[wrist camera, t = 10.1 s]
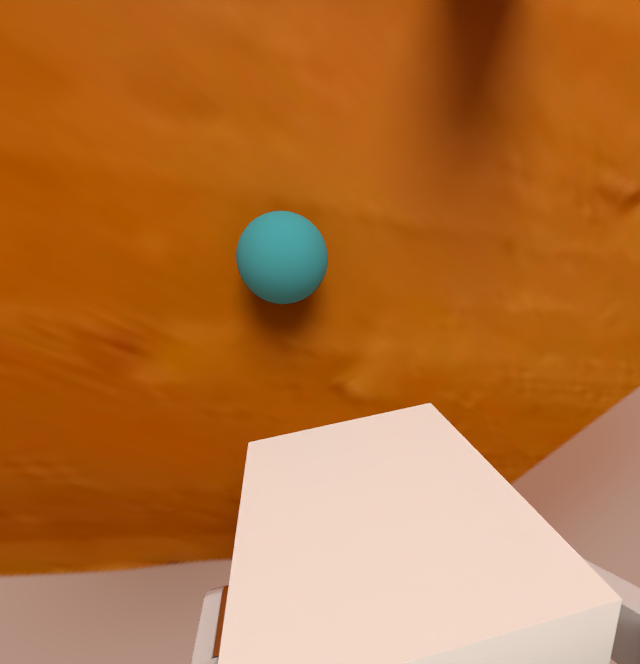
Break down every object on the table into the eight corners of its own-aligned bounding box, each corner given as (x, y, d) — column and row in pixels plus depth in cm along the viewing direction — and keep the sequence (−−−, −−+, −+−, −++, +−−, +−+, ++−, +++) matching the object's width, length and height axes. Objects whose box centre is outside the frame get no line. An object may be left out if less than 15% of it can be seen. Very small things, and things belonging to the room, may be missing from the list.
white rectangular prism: (430, 402, 12) (622, 598, 5) (437, 538, 14) (581, 800, 7) (248, 442, 11) (210, 720, 5) (284, 578, 13) (292, 903, 7)
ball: (344, 290, 15) (328, 295, 20) (322, 187, 14) (311, 218, 19) (244, 313, 14) (253, 312, 19) (217, 207, 14) (233, 234, 19)
